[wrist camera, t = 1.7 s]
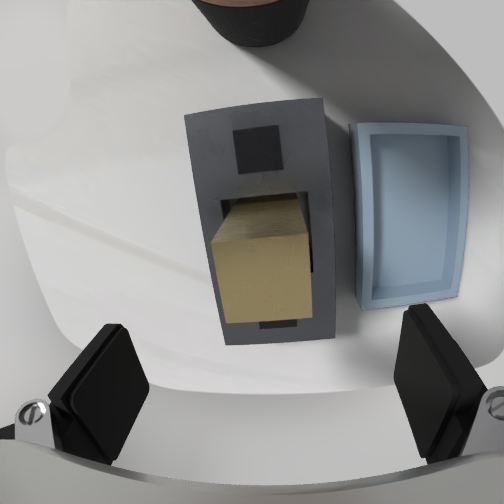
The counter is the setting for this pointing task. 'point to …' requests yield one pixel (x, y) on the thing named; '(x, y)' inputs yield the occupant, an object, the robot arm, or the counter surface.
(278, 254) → the brushed brass bar
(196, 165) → the grey slotted block
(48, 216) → the counter surface
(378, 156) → the parts tray
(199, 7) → the travel mug
